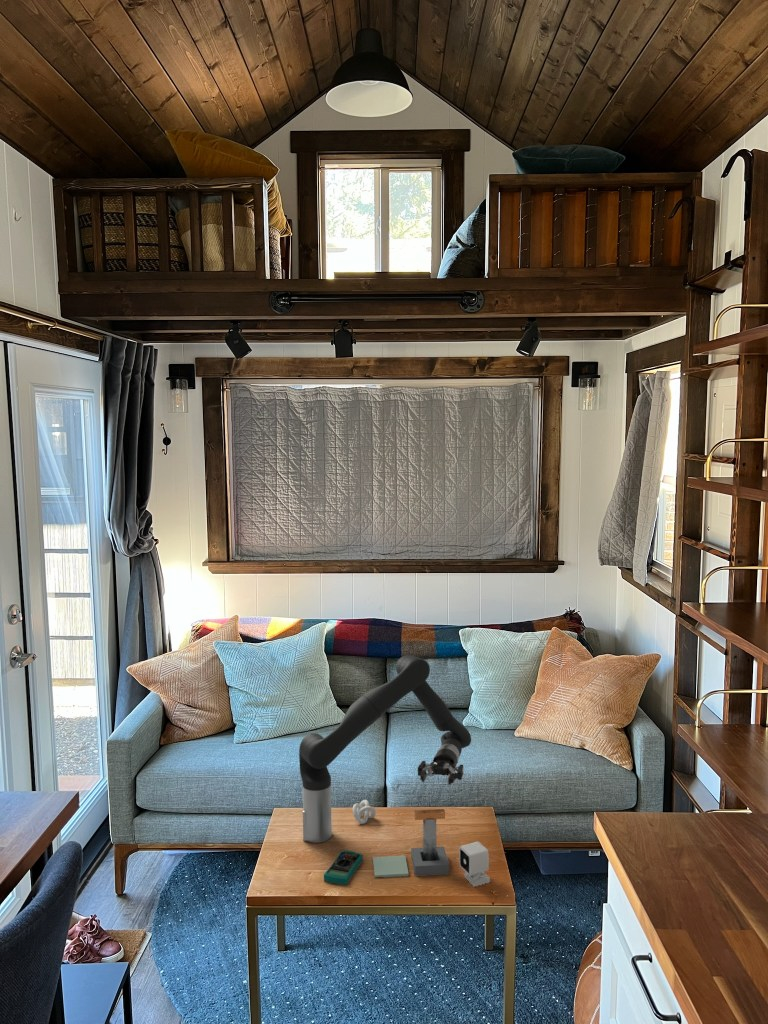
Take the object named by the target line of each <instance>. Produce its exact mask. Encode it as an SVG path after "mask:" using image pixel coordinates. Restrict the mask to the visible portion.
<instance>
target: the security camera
mask: <svg viewBox="0 0 768 1024" xmlns="http://www.w3.org/2000/svg"><path fill="white" fill-rule="evenodd" d="M458 848H459V849H458V851H459V852H458V853H459V855H458V858H459V867H460V868H461V869H462V870H463V871H464V872H465V873H464V879H465V878H466V879H467V880H468V881H469V882H468V883H470V885H472V886H473V887H474V888H475V886H476V887H479V886H478V885H480V886H482V884H483V885H486V884H485V883H487V884H490V883H491V877H490V876H489V875H487V873H485V872H487V871H490V870H489V866H490V865H489V863H490V862H489V859H490V858H489V857H490V856H489V855H490V854H489V853H490V852H489V850H488V848H486V847H485V846H484V845H483V844H482V843H481V842H480V841H475V842H471V843H467V844H463V845H460V846H459V847H458ZM466 879H465V880H466ZM467 880H466V881H467ZM489 882H490V883H489Z"/></svg>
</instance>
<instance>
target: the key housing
mask: <svg viewBox="0 0 768 1024" xmlns="http://www.w3.org/2000/svg"><path fill="white" fill-rule="evenodd" d="M410 855H411V856H410V860H411V862H412V863H411V864H412V868H413V872H414V876H415V877H420V876H421V877H425V876H439V875H441V876H443V875H450V862H449V858H448V856H447V855H448V854H447V853H446V849H445V846H436V855H437V861H423V847H411V848H410Z"/></svg>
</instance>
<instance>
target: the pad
mask: <svg viewBox="0 0 768 1024" xmlns="http://www.w3.org/2000/svg"><path fill="white" fill-rule="evenodd" d="M373 866H374V867H373ZM372 867H373V873H374V879H377V878H376V877H384V878H400V877H402V876H403V877H409V876H410V875H409V873H410V872H409V868H408V864H407V857H406V855H389V856H388V855H387V856H372Z"/></svg>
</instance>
